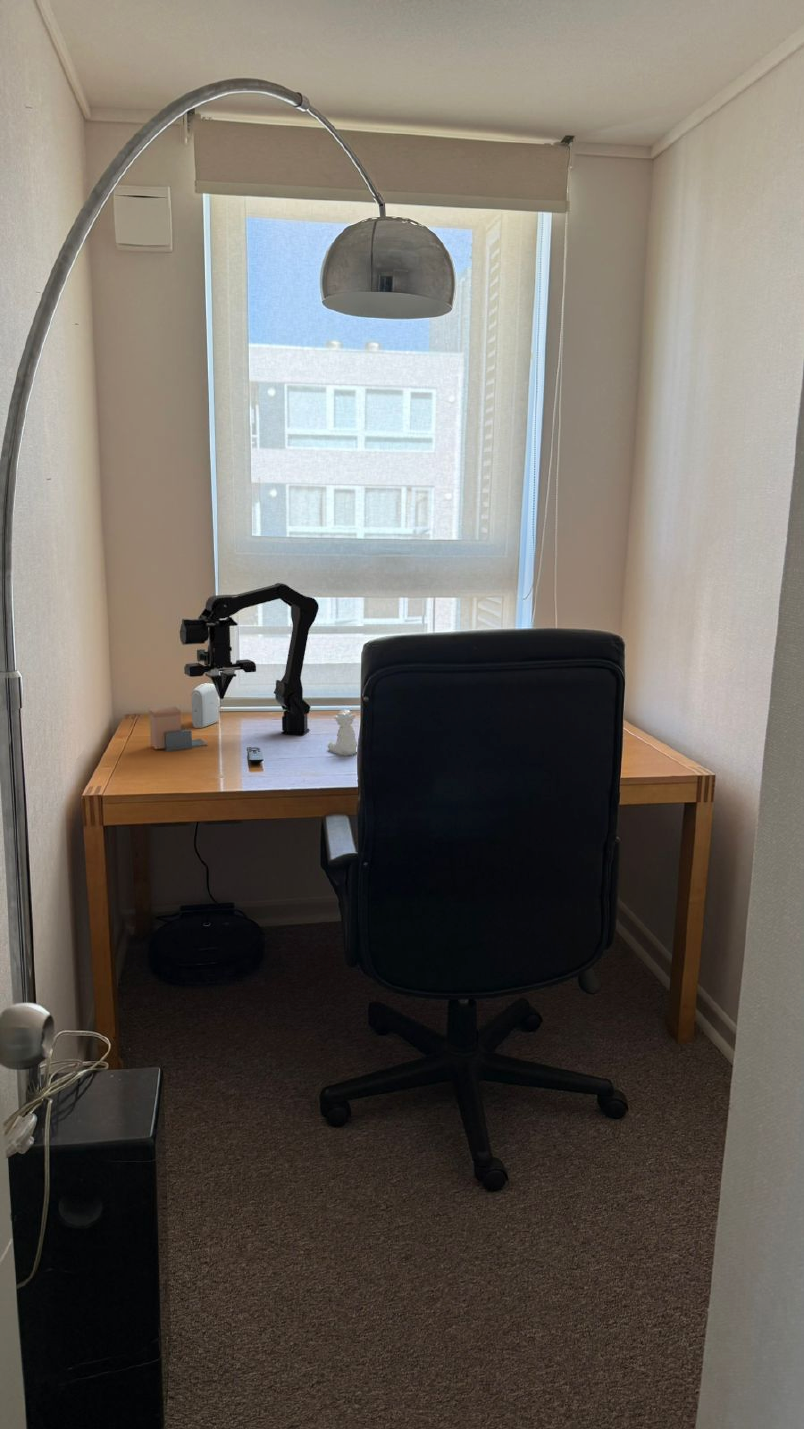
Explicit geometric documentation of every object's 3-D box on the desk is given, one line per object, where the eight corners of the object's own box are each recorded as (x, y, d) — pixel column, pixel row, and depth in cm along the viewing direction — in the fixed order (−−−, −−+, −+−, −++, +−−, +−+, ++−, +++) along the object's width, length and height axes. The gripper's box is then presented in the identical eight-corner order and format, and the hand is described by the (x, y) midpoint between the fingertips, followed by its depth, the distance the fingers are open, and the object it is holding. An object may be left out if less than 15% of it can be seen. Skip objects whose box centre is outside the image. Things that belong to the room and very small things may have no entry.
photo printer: (203, 729, 280) (201, 687, 277) (190, 727, 282) (188, 686, 279) (221, 721, 290) (220, 681, 287) (208, 720, 291) (207, 680, 288)
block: (176, 741, 263) (175, 706, 260) (182, 746, 258) (180, 709, 256) (150, 744, 259) (149, 708, 257) (155, 749, 255) (154, 712, 253)
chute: (198, 739, 267) (198, 722, 266) (208, 746, 260) (207, 728, 259) (157, 744, 262) (157, 726, 261) (166, 751, 255) (165, 733, 254)
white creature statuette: (362, 748, 261) (362, 705, 258) (365, 756, 252) (366, 712, 250) (327, 749, 259) (327, 706, 257) (330, 757, 251) (329, 713, 248)
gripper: (242, 636, 272) (243, 690, 275) (177, 640, 263) (179, 696, 266) (256, 642, 262) (257, 697, 266) (189, 646, 253) (191, 703, 257)
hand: (221, 698), depth 264 cm, fingers closed
